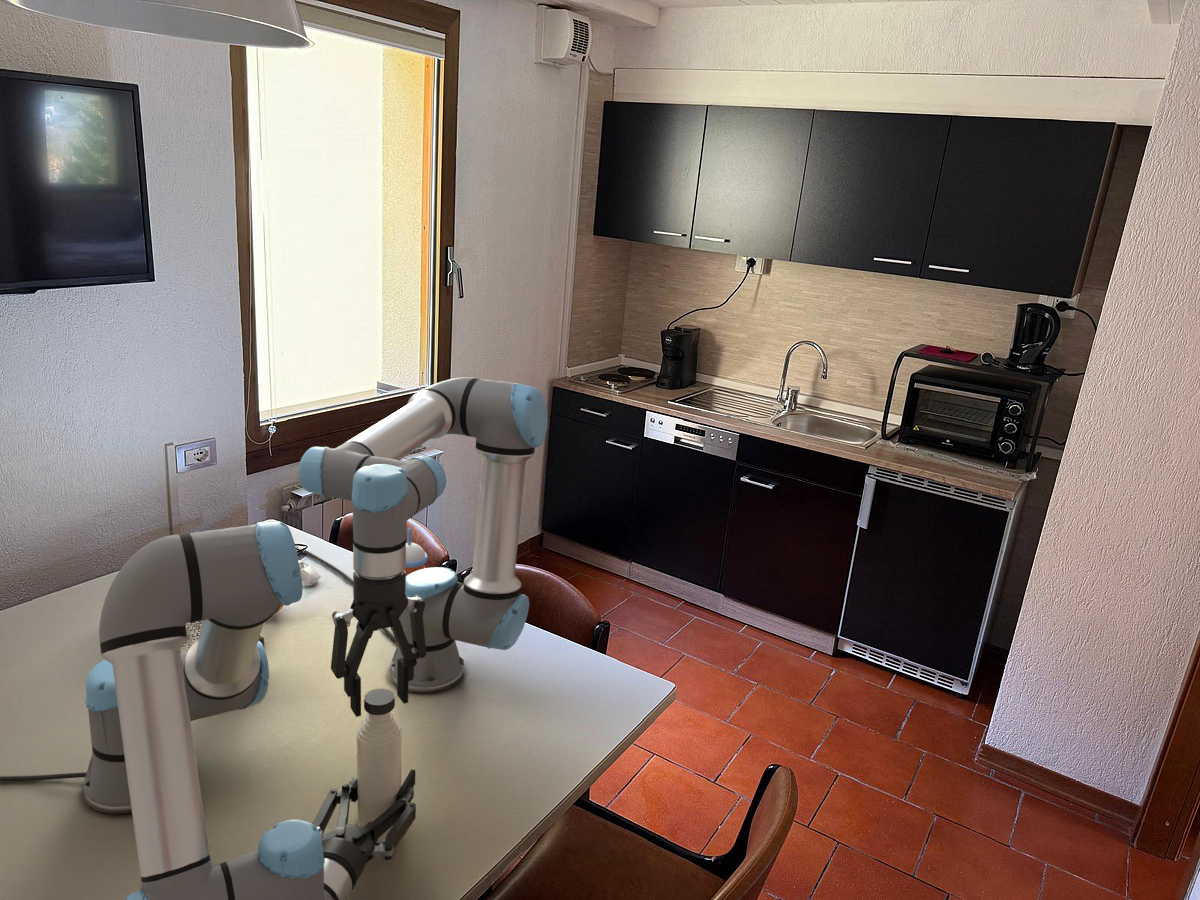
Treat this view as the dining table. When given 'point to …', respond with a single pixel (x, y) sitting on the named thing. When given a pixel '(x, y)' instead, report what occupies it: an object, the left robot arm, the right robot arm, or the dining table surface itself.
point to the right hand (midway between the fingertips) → (379, 704)
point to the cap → (379, 701)
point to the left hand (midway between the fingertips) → (391, 772)
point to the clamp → (308, 574)
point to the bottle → (378, 766)
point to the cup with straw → (414, 556)
